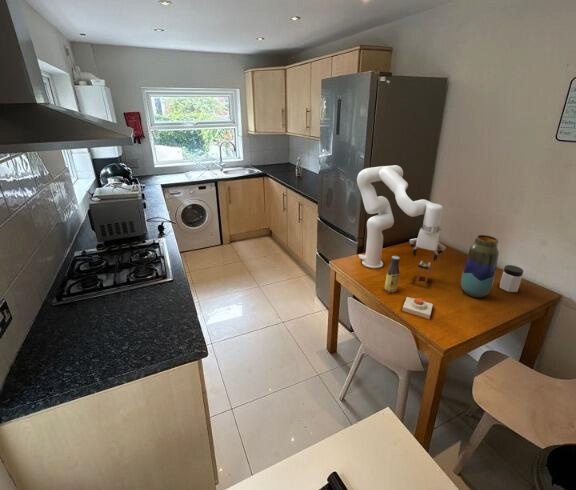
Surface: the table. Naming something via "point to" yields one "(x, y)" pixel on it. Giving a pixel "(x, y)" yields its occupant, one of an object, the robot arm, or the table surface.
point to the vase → (480, 266)
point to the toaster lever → (424, 266)
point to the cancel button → (418, 301)
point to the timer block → (417, 308)
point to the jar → (511, 278)
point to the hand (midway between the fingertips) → (424, 258)
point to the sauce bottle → (392, 275)
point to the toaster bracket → (426, 272)
